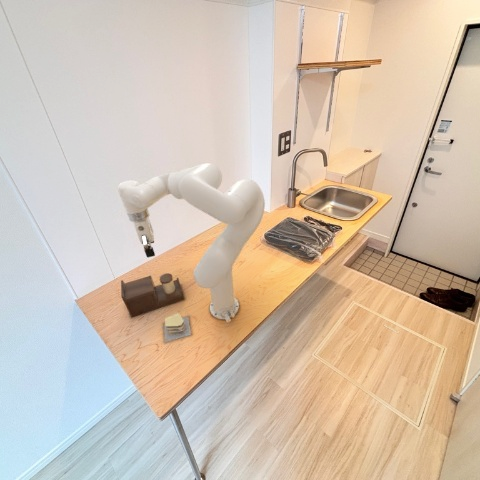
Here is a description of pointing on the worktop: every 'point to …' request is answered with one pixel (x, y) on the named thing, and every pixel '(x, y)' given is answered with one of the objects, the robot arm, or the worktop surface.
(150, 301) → the step rack
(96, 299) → the worktop surface
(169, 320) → the stacked layers on plate
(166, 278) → the spice jar
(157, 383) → the worktop surface
